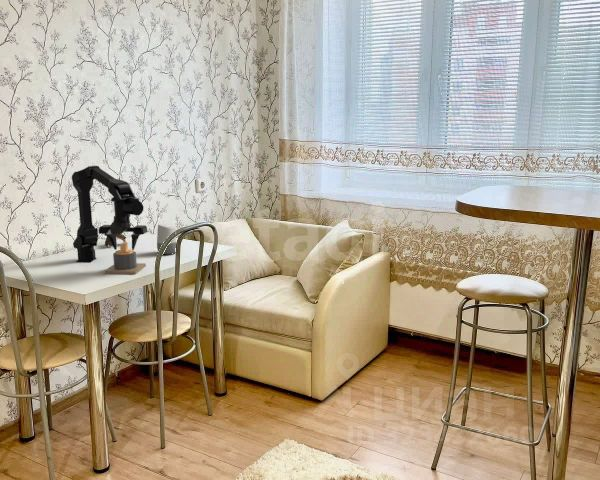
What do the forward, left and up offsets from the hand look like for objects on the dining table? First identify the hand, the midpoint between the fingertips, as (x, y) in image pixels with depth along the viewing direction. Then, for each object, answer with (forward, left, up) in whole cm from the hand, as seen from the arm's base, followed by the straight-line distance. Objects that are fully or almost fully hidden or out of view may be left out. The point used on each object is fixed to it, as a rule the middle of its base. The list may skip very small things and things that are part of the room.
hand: (124, 249), depth 247 cm
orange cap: (0, 0, -3) cm, 3 cm away
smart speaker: (+9, +30, -9) cm, 33 cm away
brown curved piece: (-21, +43, -9) cm, 49 cm away
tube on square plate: (0, 0, -9) cm, 9 cm away
